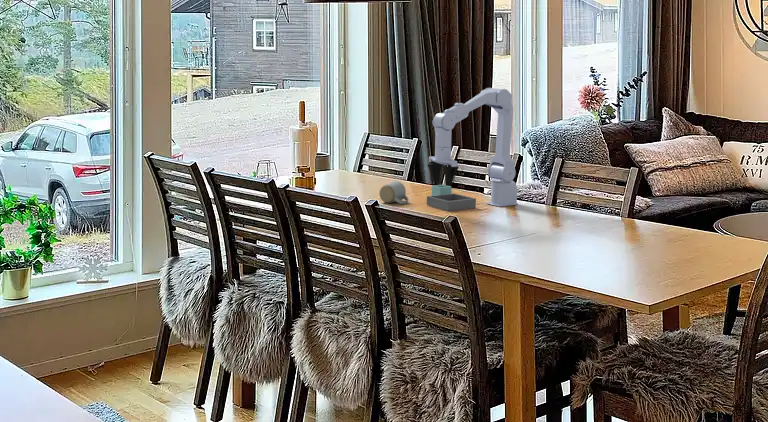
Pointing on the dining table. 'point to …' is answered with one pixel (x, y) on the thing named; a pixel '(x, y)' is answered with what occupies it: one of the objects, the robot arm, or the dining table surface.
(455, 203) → the big crate
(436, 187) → the small crate
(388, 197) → the ceramic mug
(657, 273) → the dining table surface
